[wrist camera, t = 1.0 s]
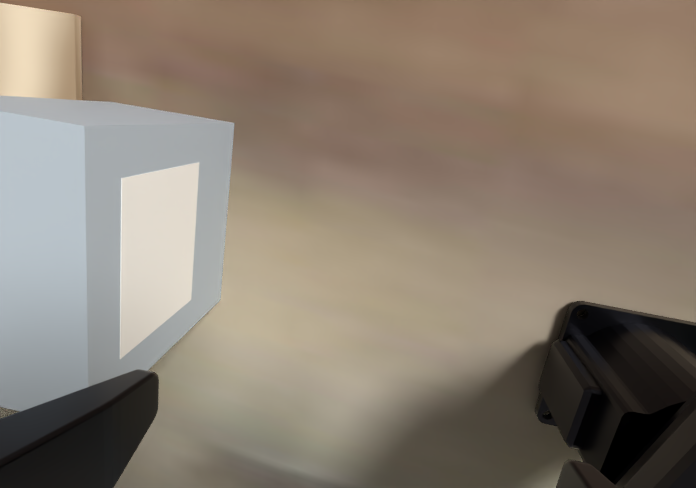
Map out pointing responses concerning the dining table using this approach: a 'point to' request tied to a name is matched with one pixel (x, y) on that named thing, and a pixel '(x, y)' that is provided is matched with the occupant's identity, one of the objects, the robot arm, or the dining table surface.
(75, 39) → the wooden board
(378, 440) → the dining table surface
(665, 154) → the dining table surface
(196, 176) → the light blue rectangular block
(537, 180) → the dining table surface
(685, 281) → the dining table surface
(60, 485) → the robot arm
